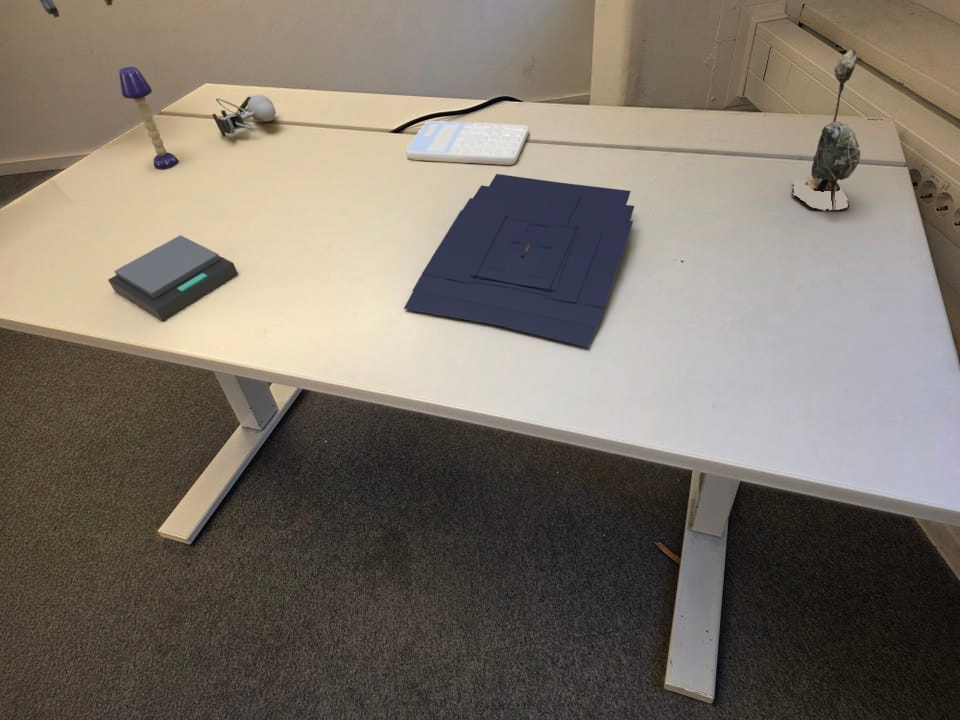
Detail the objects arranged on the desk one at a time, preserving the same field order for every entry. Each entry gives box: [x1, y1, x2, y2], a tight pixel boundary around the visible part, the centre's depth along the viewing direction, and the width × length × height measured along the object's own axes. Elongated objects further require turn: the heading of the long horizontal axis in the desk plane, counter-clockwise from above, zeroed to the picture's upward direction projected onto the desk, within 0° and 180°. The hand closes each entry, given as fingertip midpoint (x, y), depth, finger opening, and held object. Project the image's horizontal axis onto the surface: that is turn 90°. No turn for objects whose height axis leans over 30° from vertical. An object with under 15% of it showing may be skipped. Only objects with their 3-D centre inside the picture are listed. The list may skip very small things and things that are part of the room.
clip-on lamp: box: [211, 94, 277, 137], centre depth 121 cm, size 12×6×18 cm
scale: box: [107, 234, 239, 322], centre depth 83 cm, size 12×12×3 cm
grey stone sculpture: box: [805, 49, 862, 209], centre depth 82 cm, size 8×11×20 cm
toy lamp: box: [118, 66, 179, 170], centre depth 106 cm, size 5×5×17 cm
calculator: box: [405, 120, 530, 166], centre depth 109 cm, size 13×20×2 cm, turn 76°
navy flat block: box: [403, 173, 635, 348], centre depth 82 cm, size 24×30×4 cm
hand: (83, 8), depth 100 cm, fingers open, 8 cm apart
